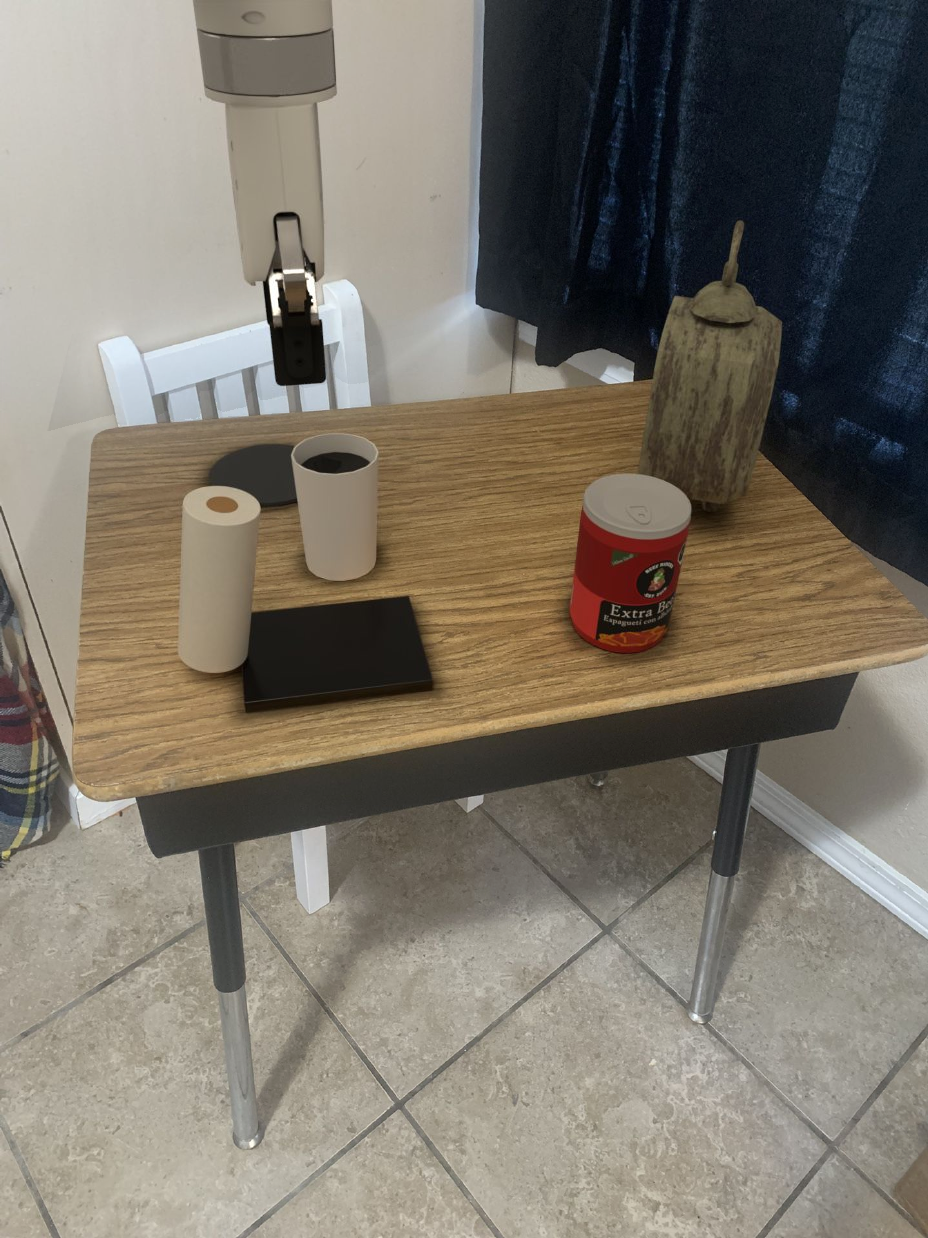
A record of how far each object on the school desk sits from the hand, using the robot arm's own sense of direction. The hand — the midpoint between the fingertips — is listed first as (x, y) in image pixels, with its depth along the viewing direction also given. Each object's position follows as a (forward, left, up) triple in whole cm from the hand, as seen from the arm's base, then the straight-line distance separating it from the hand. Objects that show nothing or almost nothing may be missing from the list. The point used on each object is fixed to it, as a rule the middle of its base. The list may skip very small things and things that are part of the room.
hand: (295, 351), depth 66 cm
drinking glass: (+2, +3, -20) cm, 20 cm away
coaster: (-3, +18, -20) cm, 27 cm away
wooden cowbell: (+34, +6, -20) cm, 40 cm away
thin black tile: (0, -9, -20) cm, 22 cm away
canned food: (+22, -9, -20) cm, 31 cm away
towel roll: (-4, -9, -12) cm, 16 cm away
